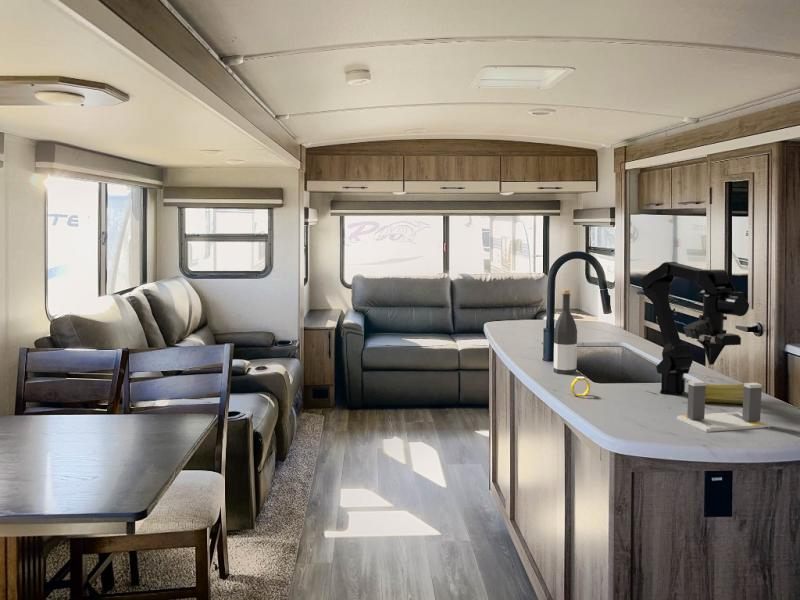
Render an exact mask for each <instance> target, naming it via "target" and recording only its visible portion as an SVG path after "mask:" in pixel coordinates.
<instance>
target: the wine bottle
mask: <svg viewBox="0 0 800 600" xmlns="http://www.w3.org/2000/svg"><path fill="white" fill-rule="evenodd" d="M570 297H571V293H570V289H563V293H562V311H561V313H560V315H559V317H558V318H557V320H556V323H555V325H554V330H553V372H554V373H556V374H559V375H574V374H576V373H577V364H578V363H577V361H578V360H577V356H578V353H577V352H578V347H577V346H578V328H577V325H576V321H575V318H574V317H573V315H572V313H571V311H570V309H571V308H570V307H571V306H570V305H571V301H570V299H571V298H570Z"/></svg>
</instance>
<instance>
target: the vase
mask: <svg viewBox="0 0 800 600" xmlns="http://www.w3.org/2000/svg"><path fill="white" fill-rule="evenodd" d="M743 396H744V383H743V384H707V383H706V388H705V403H716V404H733V405H734V404H736V405H743Z"/></svg>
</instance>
